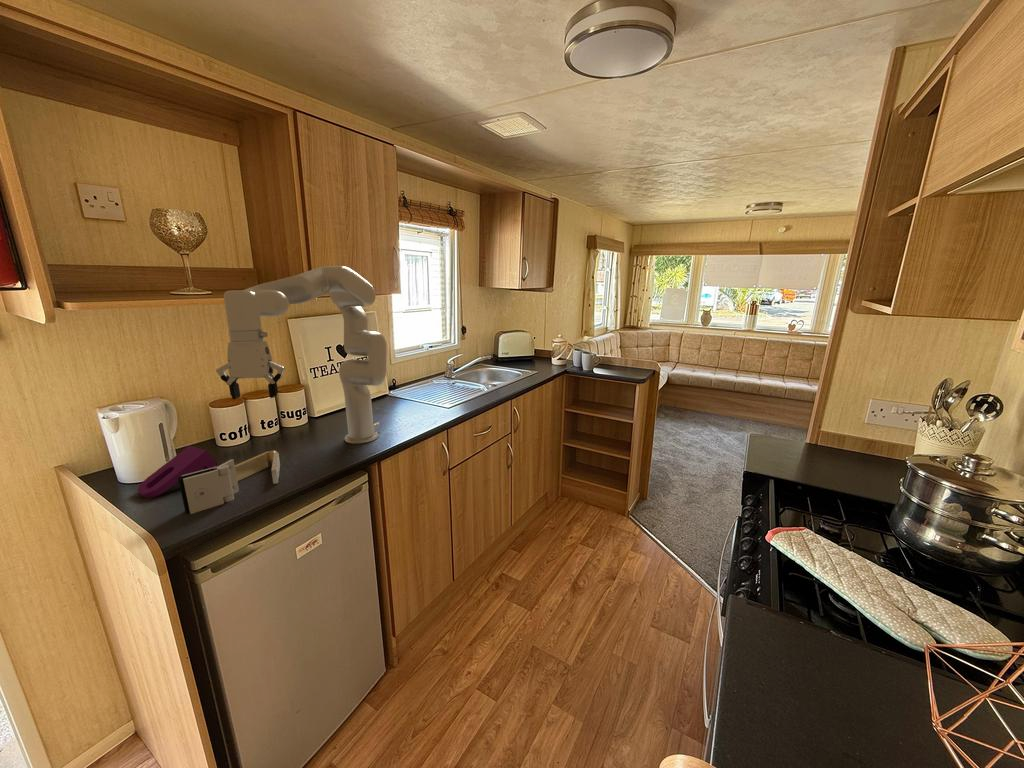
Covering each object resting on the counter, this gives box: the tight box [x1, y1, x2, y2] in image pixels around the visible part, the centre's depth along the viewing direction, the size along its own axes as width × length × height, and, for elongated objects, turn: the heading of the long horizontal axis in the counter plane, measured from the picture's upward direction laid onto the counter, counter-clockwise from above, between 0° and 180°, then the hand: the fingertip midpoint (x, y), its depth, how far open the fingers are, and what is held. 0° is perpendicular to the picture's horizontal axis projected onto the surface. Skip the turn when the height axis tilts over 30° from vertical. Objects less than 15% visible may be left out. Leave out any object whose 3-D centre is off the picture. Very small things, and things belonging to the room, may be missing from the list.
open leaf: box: [271, 451, 281, 485], centre depth 130 cm, size 15×1×4 cm, turn 27°
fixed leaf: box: [235, 449, 278, 482], centre depth 131 cm, size 18×3×5 cm, turn 162°
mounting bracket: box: [137, 445, 219, 499], centre depth 125 cm, size 10×8×18 cm
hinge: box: [178, 459, 240, 515], centre depth 113 cm, size 14×5×10 cm, turn 149°
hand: (255, 397), depth 115 cm, fingers open, 9 cm apart
